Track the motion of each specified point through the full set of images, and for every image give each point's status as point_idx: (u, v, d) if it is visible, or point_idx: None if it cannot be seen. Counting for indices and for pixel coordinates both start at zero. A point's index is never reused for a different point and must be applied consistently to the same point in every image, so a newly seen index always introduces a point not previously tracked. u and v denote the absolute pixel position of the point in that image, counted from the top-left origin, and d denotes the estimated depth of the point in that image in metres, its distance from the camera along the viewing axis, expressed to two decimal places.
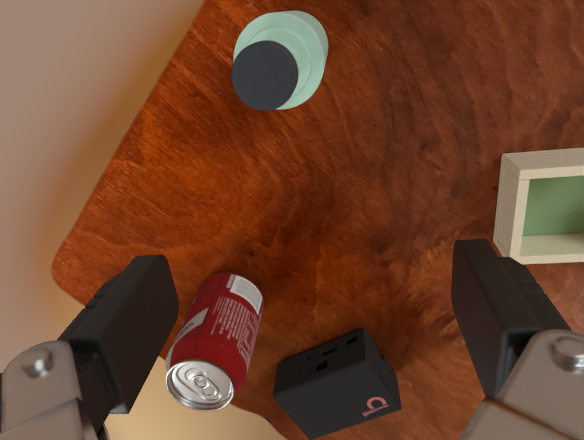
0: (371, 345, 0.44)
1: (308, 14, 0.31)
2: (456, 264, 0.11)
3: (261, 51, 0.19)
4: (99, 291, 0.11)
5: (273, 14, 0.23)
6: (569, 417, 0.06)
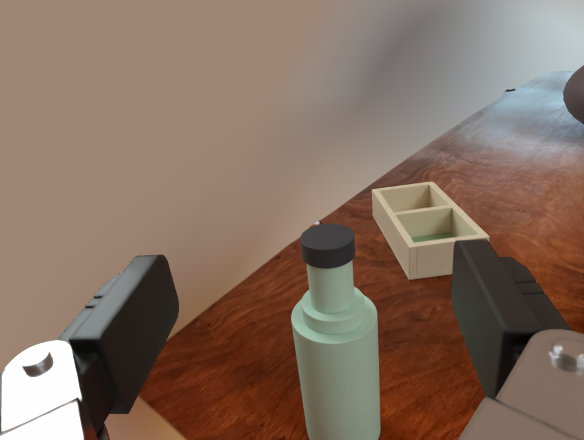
0: None
1: None
2: (456, 264, 0.11)
3: (307, 237, 0.24)
4: (99, 291, 0.11)
5: (292, 318, 0.26)
6: (569, 417, 0.06)
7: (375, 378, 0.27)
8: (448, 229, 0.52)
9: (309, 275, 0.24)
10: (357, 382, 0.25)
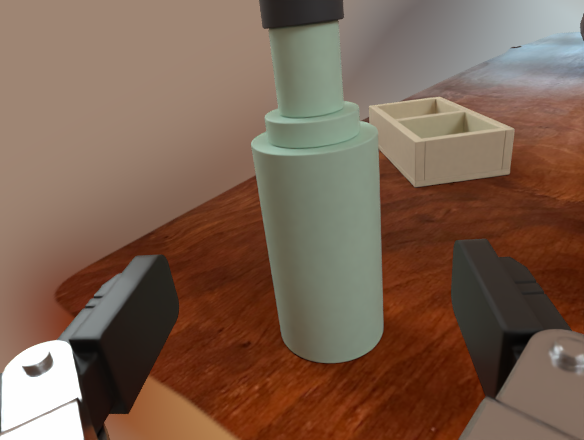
0: None
1: None
2: (456, 264, 0.11)
3: None
4: (99, 291, 0.11)
5: (253, 143, 0.18)
6: (569, 417, 0.06)
7: (376, 234, 0.18)
8: None
9: (274, 57, 0.16)
10: (349, 230, 0.17)
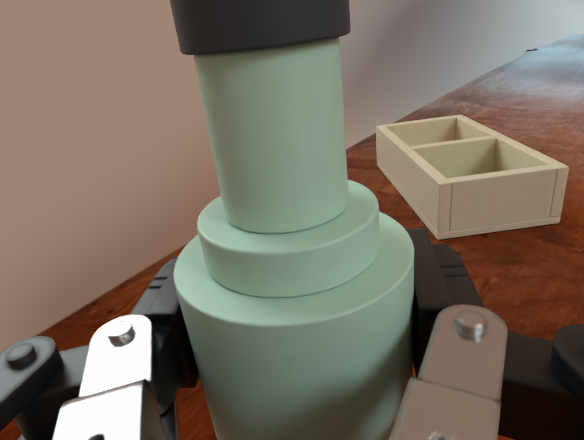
0: None
1: None
2: None
3: None
4: (159, 273, 0.12)
5: (179, 262, 0.10)
6: (479, 381, 0.07)
7: None
8: (490, 173, 0.35)
9: (205, 112, 0.08)
10: None
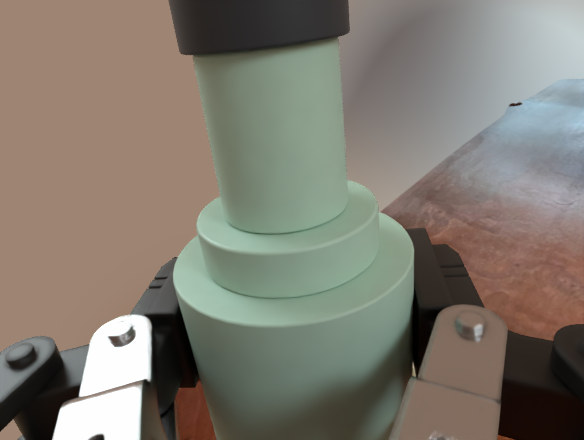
0: None
1: None
2: None
3: None
4: (159, 273, 0.12)
5: (178, 263, 0.09)
6: (479, 381, 0.07)
7: None
8: None
9: (205, 112, 0.08)
10: None
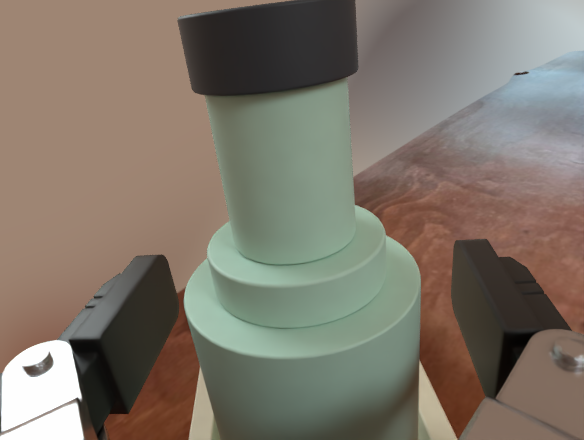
0: None
1: None
2: (456, 264, 0.11)
3: None
4: (99, 291, 0.11)
5: (189, 288, 0.10)
6: (569, 417, 0.06)
7: None
8: None
9: (216, 146, 0.08)
10: None
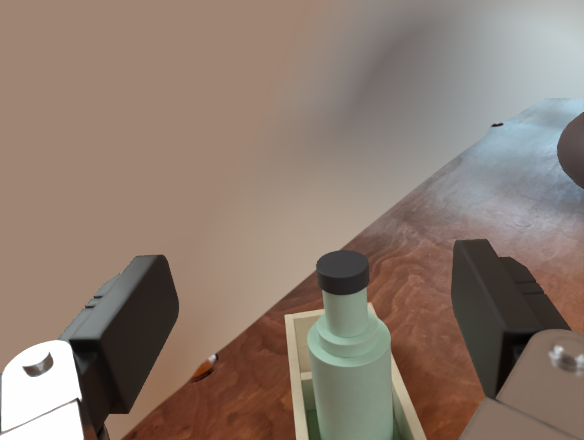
0: None
1: None
2: (456, 264, 0.11)
3: (322, 265, 0.25)
4: (99, 291, 0.11)
5: (308, 341, 0.27)
6: (569, 417, 0.06)
7: (389, 398, 0.28)
8: None
9: (325, 301, 0.25)
10: (372, 403, 0.26)
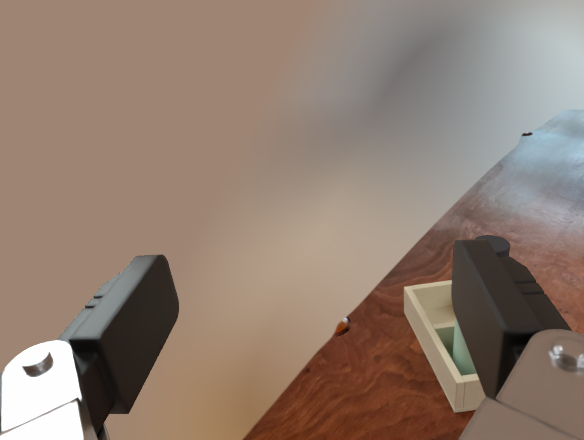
0: None
1: None
2: (456, 264, 0.11)
3: None
4: (99, 291, 0.11)
5: None
6: (569, 417, 0.06)
7: None
8: None
9: None
10: None
